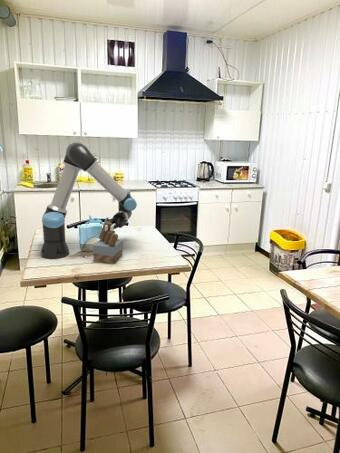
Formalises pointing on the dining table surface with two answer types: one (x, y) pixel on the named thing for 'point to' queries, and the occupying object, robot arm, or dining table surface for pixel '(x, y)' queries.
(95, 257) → the tower base
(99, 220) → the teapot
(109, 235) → the wooden block set
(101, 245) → the tower top
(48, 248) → the robot arm
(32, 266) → the dining table surface
